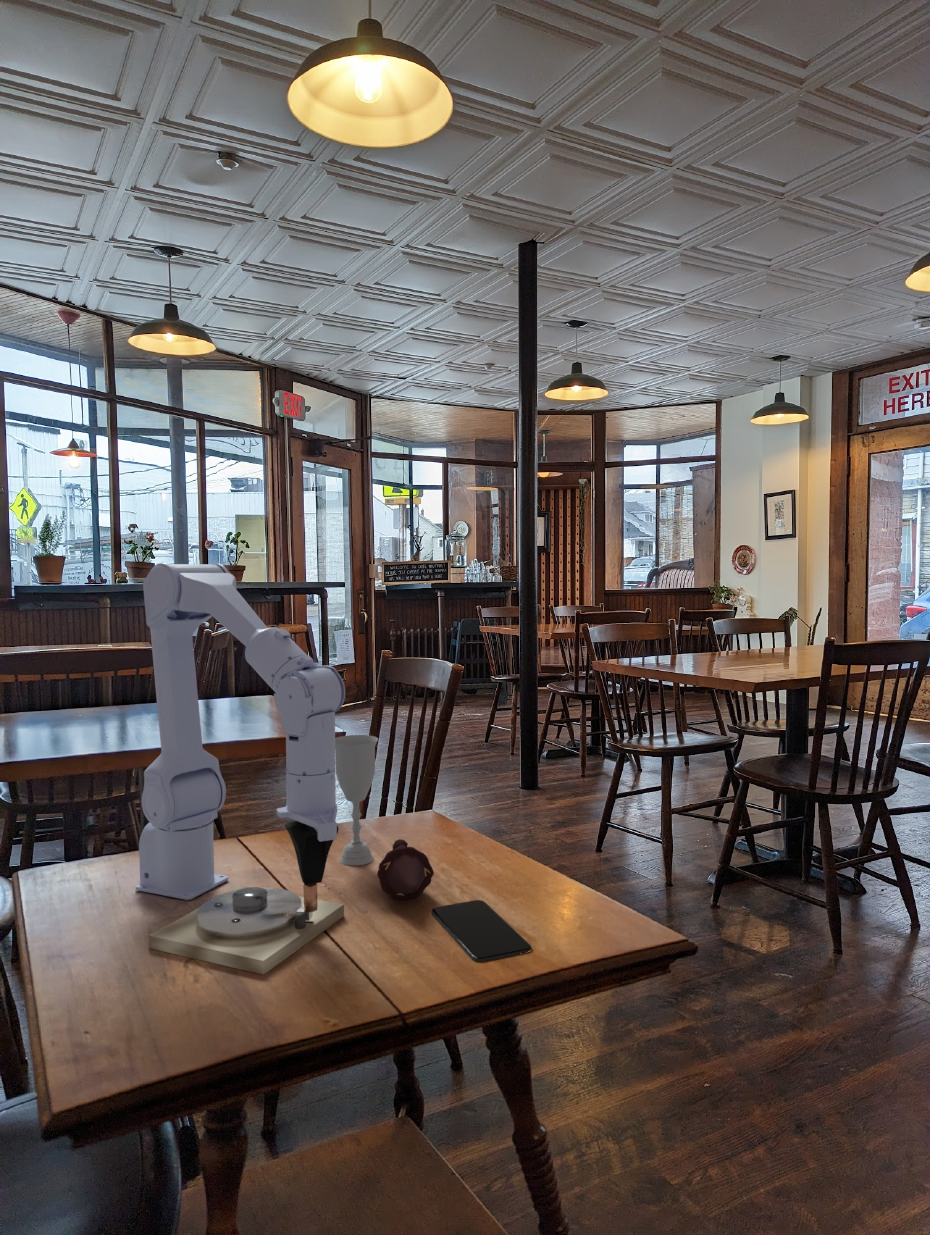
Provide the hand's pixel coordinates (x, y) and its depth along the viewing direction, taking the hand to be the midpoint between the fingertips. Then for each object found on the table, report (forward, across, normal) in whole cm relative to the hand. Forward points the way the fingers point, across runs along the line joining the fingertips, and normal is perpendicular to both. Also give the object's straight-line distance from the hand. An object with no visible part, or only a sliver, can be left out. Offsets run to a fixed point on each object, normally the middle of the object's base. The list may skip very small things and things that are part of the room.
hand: (312, 882), depth 97 cm
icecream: (+6, -4, +14) cm, 15 cm away
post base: (+6, -3, -7) cm, 9 cm away
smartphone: (+6, +9, +18) cm, 21 cm away
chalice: (+6, -20, +12) cm, 25 cm away
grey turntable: (+4, -2, -6) cm, 7 cm away
